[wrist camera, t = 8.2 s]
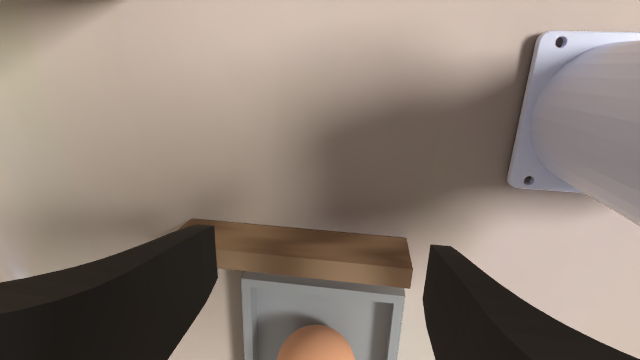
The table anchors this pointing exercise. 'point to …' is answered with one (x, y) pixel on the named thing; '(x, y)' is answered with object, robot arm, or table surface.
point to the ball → (316, 345)
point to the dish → (319, 314)
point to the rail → (312, 253)
